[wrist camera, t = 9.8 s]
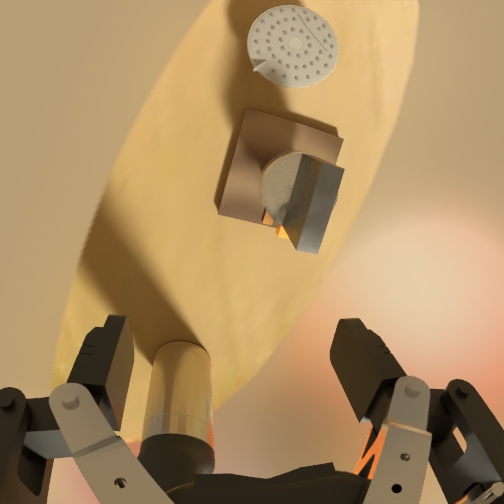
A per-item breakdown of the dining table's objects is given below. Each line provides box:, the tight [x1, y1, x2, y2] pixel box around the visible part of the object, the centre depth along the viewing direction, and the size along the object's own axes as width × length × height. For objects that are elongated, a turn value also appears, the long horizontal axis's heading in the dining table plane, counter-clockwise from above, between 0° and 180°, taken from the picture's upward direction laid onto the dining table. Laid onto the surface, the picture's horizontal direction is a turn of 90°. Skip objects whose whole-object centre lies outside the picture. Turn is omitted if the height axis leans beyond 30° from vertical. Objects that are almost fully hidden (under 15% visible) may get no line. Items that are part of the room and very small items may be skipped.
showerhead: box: [247, 5, 339, 88], centre depth 29 cm, size 9×7×10 cm
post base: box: [218, 108, 344, 228], centre depth 34 cm, size 13×12×8 cm
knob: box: [258, 150, 344, 254], centre depth 27 cm, size 7×8×8 cm
